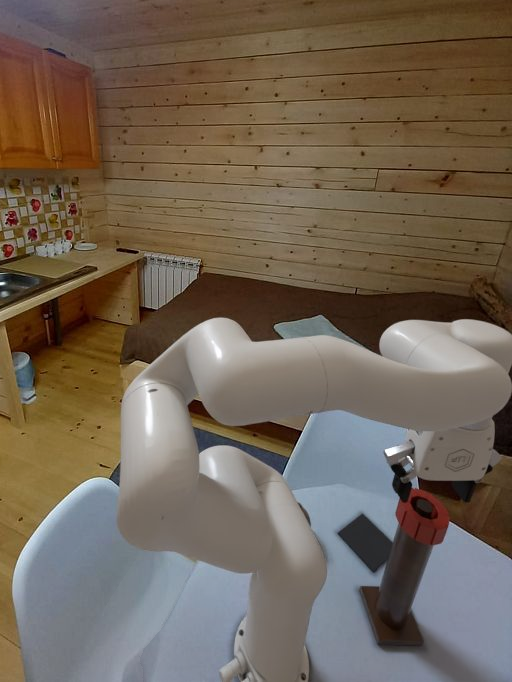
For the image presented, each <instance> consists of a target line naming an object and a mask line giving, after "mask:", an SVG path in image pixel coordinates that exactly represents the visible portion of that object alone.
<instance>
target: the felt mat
mask: <svg viewBox="0 0 512 682" xmlns="http://www.w3.org/2000/svg"><path fill="white" fill-rule="evenodd" d="M337 536H339V537H340V539H342V540H343V541H344V542H345V544H346V545H347V546H348V547H349V548H350V549H351V550H352V551H353V553H355V555H356V556H357V557H358V558H359V559H360V560H361V561H362V562H363V564H365V566H366V567H367V568H368V569H369V571H371V572H372V573H374V572H375V571H376V570H378V569H379V568H380V567H381V566H382V565H383V564H384V563H385V562H387V560H388V557H389V554H390V550H391V547H392V544H393V540H391V539H390V538H389V537H388V536H386V534H385V533H384V532H383V531H382V530H381V529H380V528H378V527H377V525H376V524H375V523H374V522H372V521H371V520H370V519H369V518H368V517H367V516H366V515H365V514H364V513H361V514H360V515H358V516H357V517H355V518H354V519H353V520H351V521H350V523H348V524H347V525H346V526H344V527H343V528H341V529H340V530H339V531H338V532H337Z"/></svg>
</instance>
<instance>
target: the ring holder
mask: <svg viewBox="0 0 512 682" xmlns="http://www.w3.org/2000/svg"><path fill="white" fill-rule="evenodd" d="M414 511H415V512H417V513H418V514H419V515H420V516H421V517H424V518H427V519H429V520H430V517H431V514H432V511H433V508H432V506H431V504H430V503H429V502H427V501H425V500H423V499H419V500H418V501H417V503H416V506H415V510H414ZM397 523H398V524H397V526H396V531H395V534H394V538H393V540H392V542H393V544H392V547H391V550H390V554H389V557H388V559H387V560H386V564H385V566H384V570H383V574H382V577H381V581H380V584H379V586H378V585H377V586H376V585H375V586H374V585H370V586H369V585H359V589H358V592H359V595H360V598H361V601H362V604H363V607H364V609H365V613H366V616H367V619H368V622H369V624H370V627H371V630H372V633H373V636H374V639H375V642H376V645H385V646H386V645H387V646H391V645H392V646H423V645H424V641H425V640H424V637H423V636H422V633H421V631H420V629H419V627H418V624H417V621H416V619H415V617H414V615H413V613H412V607H413V604H414V602H415V600H416V597H417V593H418V590H419V588H420V585H421V582H422V579H423V576H424V575H425V571H426V568H427V565H428V562H429V560H430V557H431V554H432V551H433V549H434V546H431V545H426V544H423V543H421V542H418V541H416V540H415V538H414V539H413V538H412V537H410V536H409V535H408V534H407V533H406V532H405V531H404V530H403V529H402V527H400V525H399V522H397Z"/></svg>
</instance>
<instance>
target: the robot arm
mask: <svg viewBox="0 0 512 682" xmlns="http://www.w3.org/2000/svg"><path fill="white" fill-rule="evenodd" d="M380 336H381V337H380V338H379V344H378V345H379V352H380V354H378V353H376V352H373V351H371V350H369V349H366V348H365V347H362V346H360V345H358V344H355V343H353V342H351V341H348V340H345V339H342V338H339V337H335V336H332V335H329V334H328V335H327V334H319V335H310V336H302V337H301V336H300V337H294V338H292V337H291V338H283V339H274V340H262V341H252V339H251V338H250V337H249V335H248V334H247V333H246V331H245V330H244V328H243V327H242V326H241V325H240V324H239V323H238V322H237V321H235V320H233V319H230V318H228V317H213V318H210V319H207V320H205V321H203V322H201V323H199V324H197V325H195V326H194V327H193V328H191V329H189V330H188V331H187V332H186V333H184V334H183V335H182V336H180V338H178V339H177V340H176V341H175V342H173V344H172V345H169V346H168V348H167V349H166V350H165V351H164V352H162V353H161V354H160V355H159V356H158V357H157V358H156V359H155V360H153V361H152V363H150V364H149V365H147V367H145V368H144V369H143V370H142V371H141V372H140V373H139V374H138V375H137V376H136V377H135V378H134V379H133V380H132V382H131V383H130V384H129V385H128V387H127V388H126V390H125V392H124V393H123V397H122V399H121V406H120V448H119V450H120V451H119V454H120V465H119V466H120V467H119V469H120V470H119V487H118V498H117V507H116V526H117V529H118V531H119V534H120V535H121V537H122V538H123V539H124V541H126V542H127V543H128V544H130V545H131V546H132V547H134V548H136V549H139V550H142V551H148V552H155V553H156V552H159V553H161V552H170V553H177V554H181V555H183V556H186V557H188V558H190V559H193V560H196V561H199V562H202V563H205V564H207V565H211V566H214V567H216V568H219V569H222V570H226V571H228V572H231V573H234V574H235V573H236V574H240V575H241V574H244V575H247V574H251V575H250V579H249V583H248V584H249V585H248V596H247V606H246V615H245V616H244V618H243V619H242V620H241V622H240V624H239V626H238V627H237V630H236V632H235V633H236V634H235V638H234V643H233V659H232V660H231V661H230V662H227V663H226V664H225V665H224V666H223V667H221V668H220V669H219V670H218V674H219V675H218V676H219V678H220V680H221V682H232V681H234V680H235V678H236V677H237V678H238V681H239V682H309V679H310V677H309V675H310V661H309V660H310V659H309V653H308V650H307V646H306V639H307V635H308V630H309V625H310V619H311V614H312V609H313V606H314V603H315V602H316V599H317V598H318V596H319V594H321V591H322V590H323V588H324V586H325V584H326V581H327V577H328V567H327V563H326V558H325V555H324V552H323V550H322V547H321V545H320V543H319V541H318V539H317V536H316V534H315V532H314V530H313V529H312V526H311V527H310V525H309V523H308V521H307V519H306V517H305V515H304V513H303V511H302V510H301V508H300V506H299V504H298V502H299V501H297V499H296V497H295V494H294V493H293V491H292V489H291V487H290V486H289V483H288V481H287V480H286V479H285V478H284V476H283V475H282V474H281V473H280V472H279V471H278V470H276V469H275V468H273V467H271V466H270V465H268V464H266V463H265V462H263V461H262V460H260V459H258V458H256V457H255V456H252V455H250V454H249V453H248V452H246V451H244V450H242V449H240V448H238V447H236V446H232V445H225V444H224V445H221V444H220V445H214V446H210V447H208V448H206V449H204V450H202V451H199V450H200V449H199V445H198V440H197V437H196V434H195V429H194V426H193V422H192V418H191V414H190V410H189V407H188V405H189V404H191V402H192V401H194V400H195V399H196V398H197V397H199V399H200V401H201V403H202V405H203V407H204V408H205V410H206V411H207V413H208V414H209V415H210V416H211V418H213V420H215V421H217V422H218V423H219V424H221V425H225V426H228V427H241V426H242V427H243V426H247V425H253V424H261V423H267V422H273V421H279V420H284V419H285V420H286V419H290V418H297V417H303V416H309V415H314V414H321V413H326V412H332V411H333V412H334V411H342V412H346V413H349V414H352V415H354V416H357V417H360V418H363V419H366V420H369V421H374V422H377V423H381V424H385V425H389V426H393V427H396V428H397V427H398V428H401V429H406V430H407V433H406V436H405V439H404V442H402V443H400V444H397V445H394V446H392V447H388V448H386V449H384V450H383V453H382V454H383V455H384V458H385V460H386V463H387V464H388V467H389V468H390V470H391V471H392V472H393V474H394V475H393V478H392V482H391V486H392V489H393V491H394V493H395V494H397V496H398V499H399V498H400V499H401V501H402V502H403V503H407V502H408V499H409V495H410V492H411V489H412V488H413V482H412V480H414V479H415V478H417V477H418V478H420V479H422V480H425V481H437V482H438V481H441V482H442V481H443V482H444V481H446V482H450V481H451V487H452V489H453V490H454V491H455V492H456V493H457V495H458V496H459V498H460V499H461V500H462V501H463V502H464V503H470V502H471V500H472V497H473V496H474V495H473V494H474V493H475V489H476V487H477V484H480V483H482V482H483V481H484V478H483V477H484V476H486V475H487V474H488V473H489V474H490V473H491V472H492V471H493V469H494V468H493V467H495V466H496V465H497V464H498V463H499V462H500V461H501V460H502V459H503V456H502V455H501V454H500V453H499V452H498V451H497V450H496V449H494V444H495V433H496V432H495V431H496V429H495V428H496V427H495V421H494V419H493V417H494V416H495V415H497V414H498V413H499V412H500V411H502V409H504V407H505V406H506V405H507V404H508V402H509V400H510V399H511V396H512V379H511V377H510V375H509V373H510V370H511V368H512V333H511V332H509V331H508V330H506V329H505V328H503V327H501V326H498V325H496V324H493V323H490V322H487V321H484V320H483V321H482V320H478V319H477V320H476V319H470V318H469V319H467V318H464V319H463V318H461V319H457V320H453V321H452V322H443V321H434V320H433V321H432V320H425V319H408V320H407V319H406V320H402V321H397V322H395V323H393V324H392V325H390V326H389V327H388V328H386V329H385V330H384V331H383V333H382V335H380ZM408 464H409V465H410V466H411V468H410V469H408V470H406V469H405V467H406V466H407V465H408Z"/></svg>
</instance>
